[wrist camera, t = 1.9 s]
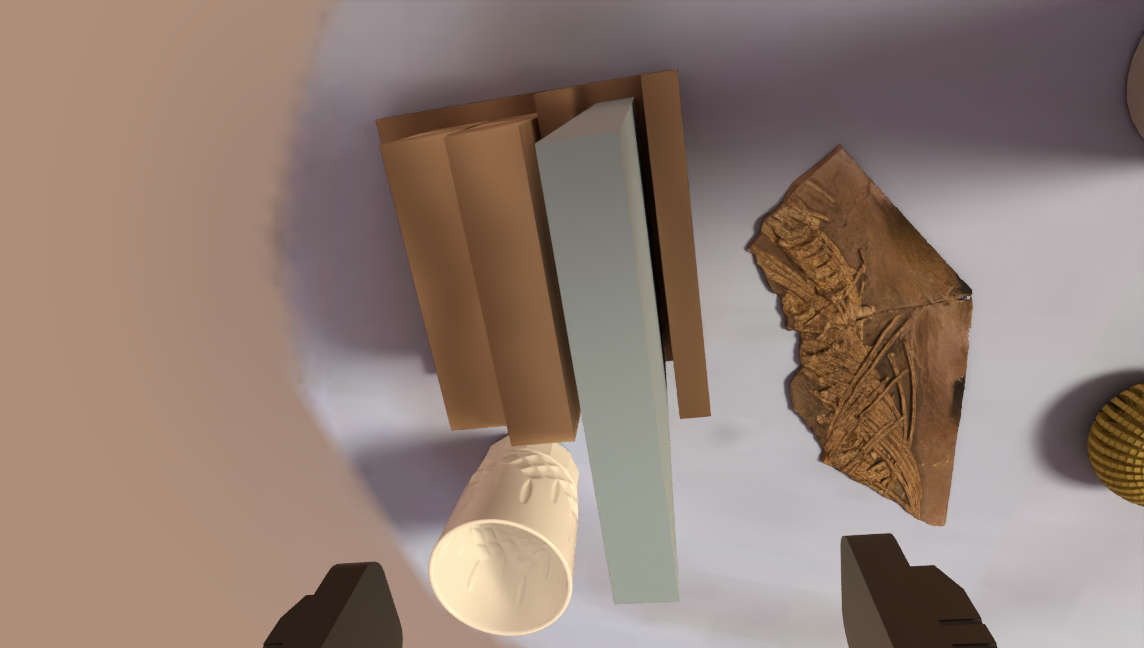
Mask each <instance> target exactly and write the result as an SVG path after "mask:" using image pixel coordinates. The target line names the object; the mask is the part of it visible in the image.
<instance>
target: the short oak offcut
mask: <svg viewBox="0 0 1144 648" xmlns="http://www.w3.org/2000/svg"><path fill="white" fill-rule="evenodd" d="M488 122H489V121H484V122H478V123H472V124H466V125H460V126H454V127H448V128H441V129H435V130H432V131H428V132H425V133H421V134H418V135H414V136H411V137H407V138H404V139H400V140H397V141H393V142H390V143H386V144H383V145H379V146H380V150H381V154H382V158H383V162H384V166H385V170H386V174H387V178H388V181H389V185H390V189H391V193H392V197H393V201H394V205H395V209H396V213H397V217H398V221H399V225H400V229H401V233H402V237H403V241H404V245H405V249H406V253H407V257H408V261H409V265H410V269H411V273H412V277H413V281H414V285H415V288H416V292H417V296H418V300H419V304H420V308H421V312H422V316H423V320H424V324H425V328H426V332H427V336H428V340H429V344H430V348H431V352H432V356H433V360H434V364H435V368H436V372H437V376H438V380H439V384H440V388H441V392H442V396H443V399H444V403H445V407H446V411H447V415H448V419H449V423H450V427H451V431H454V430H465V429H477V428H488V427H499V426H507V424H506V420H505V415H504V411H503V406H502V401H501V397H500V392H499V388H498V383H497V379H496V374H495V369H494V365H493V360H492V356H491V351H490V347H489V342H488V337H487V333H486V328H485V324H484V319H483V314H482V310H481V305H480V301H479V296H478V292H477V287H476V282H475V278H474V273H473V269H472V264H471V260H470V255H469V250H468V246H467V241H466V237H465V232H464V228H463V223H462V218H461V214H460V209H459V205H458V200H457V196H456V191H455V186H454V182H453V177H452V173H451V168H450V164H449V159H448V154H447V150H446V145H445V141H444V137H447V136H450V135H452V134H455V133H458V132H461V131H464V130H467V129H470V128H473V127H476V126H479V125H482V124H485V123H488Z"/></svg>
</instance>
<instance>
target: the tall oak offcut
mask: <svg viewBox="0 0 1144 648" xmlns="http://www.w3.org/2000/svg"><path fill="white" fill-rule="evenodd" d="M540 140H541V134H540V128H539V122H538V116H537V113H533V114H527V115H521V116H515V117H509V118H503V119H497V120H494V121H491V122H488V123H485V124H482V125H479V126H476V127H473V128H470V129H467V130H464V131H461V132H458V133H455V134H452V135H450V136H447V137H444V141H445V145H446V150H447V154H448V159H449V164H450V168H451V173H452V177H453V182H454V186H455V191H456V196H457V200H458V205H459V209H460V214H461V218H462V223H463V228H464V232H465V237H466V241H467V246H468V250H469V255H470V260H471V264H472V269H473V273H474V278H475V282H476V287H477V292H478V296H479V301H480V305H481V310H482V314H483V319H484V324H485V328H486V333H487V337H488V342H489V347H490V351H491V356H492V360H493V365H494V369H495V374H496V379H497V383H498V388H499V392H500V397H501V401H502V406H503V411H504V415H505V420H506V424H507V429H508V433H509V438H510V443H511V446H522V445H534V444H547V443H559V442H571V441H575V438H576V433H577V428H578V423H579V418H580V413H581V408H580V403H579V397H578V391H577V385H576V380H575V374H574V368H573V362H572V356H571V351H570V345H569V339H568V333H567V328H566V322H565V316H564V310H563V304H562V299H561V293H560V287H559V281H558V276H557V270H556V264H555V258H554V252H553V247H552V241H551V235H550V229H549V223H548V218H547V212H546V206H545V200H544V195H543V189H542V183H541V177H540V171H539V166H538V160H537V154H536V148H535V143H537V142H538V141H540Z"/></svg>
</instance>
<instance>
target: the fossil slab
mask: <svg viewBox="0 0 1144 648" xmlns="http://www.w3.org/2000/svg"><path fill="white" fill-rule="evenodd" d="M883 194H884V193H882V192H881V189H880V188H878V187H877V186H875V185H874V183H873V181H872V180H871V179H870V178H869V177H867V175H866V173H865V172H864V171H863V170H862V169H861V168H860V167H859V166H858V165H857V164H856V163H855V162H854V161H853V159H852V158H851V157H850V156H849V155H848V154H847V153H846V152H845V151H844V150H843V148H842V147H841V146H840V144H839V145H838V146H837V147H836V148H835V149H834V150H833V151H832V152H831V153H830V154H829V155H828V156H826V157H825V158H824V159H823V160H822V161H820V162H819V163H818V164H817V165H816V166H814V167H813V168H812V169H811V170H809V171H808V172H806V173H805V174H803V175H802V176H800V177H799V178H797V179H796V180H795V181H794V182H793V183H792V184H791V186H790V187H789V189H788V190H787V192H786V195H785V199H784V201H783V202H782V203H781V204H780V205H779V206H778V207H777V208H776V209H775V210H774V211H773V212H772V213H770V214H769V215H767V216H766V217H764V219H763V221H762V224H761V231H760V234H759V235H758V236H757V237H756V239H755V240H754V241H753V242H752V243H751V245H750V246H749V247H748V250H747V251H748V252H750V253H753V254H754V256H755V259H756V263H757V265H759V266H761V269H762V270H763V271H764V273H765V275H766V280H767V283H768V284H769V286H770V288H771V289H772V290H773V291H774V292H775V293H776V294H778V295H780V298H781V303H782V304H783V309H782V310H783V312H784V315H785V318H786V330H788V331H791V330H795V331H799V332H800V345H799V348H800V351H799V355H800V362H801V364H802V366H801V367H800V368H799V369H798V371H797V373H796V374H795V375H794V379H793V380H792V381H791V383H790V394H791V400H792V403H793V409H794V411H795V412H797V413H798V414H799V415H800V416H802V417H803V418H804V420H805V423H806V424H807V425H808V426H809V427H810V428H811V429H812V431H813V433H814V434H815V435H817V437H818V441H819V443H820V444H821V445H822V447H823V450H824V451H823V454H822V457H821V459H822V461H823V463H825V464H827V465H829V466H832V467H833V468H835V469H837V470H840V471H841V472H843V473H845V474H847V475H848V476H849V477H850V478H852V479H853V480H854V481H856V482H859V483H861V484H863V485H867V486H869V487H871V488H872V489H874V490H875V491H876V492H878V493H879V494H880V495H883V496H884V497H886V498H888V499H890V500H893V501H895V502H896V503H897V504H899V505H902V506H903V507H905V509H906V511H907V512H908V513H910V514H911V515H913V517H914V518H916V519H918V520H921V521H924V522H926V523H928V524H930V525H932V526H944V525H945V523H946V514H947V508H948V500H949V495H950V488H951V479H952V471H953V462H954V455H955V446H956V440H957V432H958V427H959V422H960V417H961V408H962V399H963V391H964V389H965V378H966V368H967V355H968V349H969V341H968V337H969V335H968V333H969V329H968V328H971V318H972V309H973V305H972V297H970V299H968V300H967V299H966V300H960V301H959V300H958V298H959V297H964V296H965V297H966V298H967V296H971V295H972V289H971V288H970V287H969V286H968V285H967V284H966V283H965V282H964V281H963V280H961V279H960V277H959V276H958V274H957V273H956V272H955V271H954V270H953V269H952V268H951V267H950V266H949V265H948V264H947V263H946V261H945V260H944V259H943V258H942V257H941V256H940V255H939V254H938V253H937V251H936V250H935V249H934V248H933V247H932V246H931V245H930V244H929V243H927V240H926V239H924V238H923V237H922V236H921V234H920V233H919V232H918V231H917V230H916V229H915V228H914V226H913V225H912V224H911V223H910V222H909V221H908V220H907V219H906V218H905V217H904V216H903V214H902V213H901V212H900V211H899V209H898V208H897V207H895V206H894V205H893V204H892V202H891V201H890V200H889V199H888V198H887V197H886V196H885V195H883Z"/></svg>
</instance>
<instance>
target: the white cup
mask: <svg viewBox="0 0 1144 648" xmlns="http://www.w3.org/2000/svg"><path fill="white" fill-rule="evenodd" d="M578 479H579V471H578V469H577V467H576V465H575V463H574V460H573V458H572V456H571V454H570V453H569V452H568V451H567V450H566V449H564V448H563V447H562V446H561V445H560V444H558V443H547V444H534V445H522V446H511V443H510V438H509V435H508V436H506V437H505V438H503V439H501V440H499V441H498V442H496V443H494V444H493V445H491V447H490V449H489V450H488V452H487V454H486V455H485V457H484V459H483V460H482V462H481V464H480V466H479V468H478V470H477V471H476V472H475V473H474V474H473V475H472V477H471V479H470V481H469V483H468V484H467V486H466V487H465V489H464V491H463V493H462V495H461V497H460V499H459V501H458V503H457V505H456V506H455V508H454V510H453V512H452V514H451V516H450V518H449V520H448V522H447V524H446V526H445V528H444V530H443V531H442V533H441V535H440V537H439V539H438V541H437V543H436V545H435V547H434V549H433V551H432V553H431V556H430V560H429V569H428V570H429V579H430V583H431V586H432V589H433V591H434V593H435V595H436V597H437V598H438V600H439V601H440V603H441V604H442V605H443V606H444V607H445V609H446V610H447V611H448V612H450V613H451V614H452V615H453V616H454V617H456V618H457V619H458V620H460V621H461V622H463V623H465V624H467V625H468V626H470V627H473V628H475V629H477V630H480V631H483V632H487V633H491V634H496V635H507V636H513V635H523V634H528V633H532V632H535V631H538V630H541V629H543V628H545V627H547V626H548V625H550V624H551V623H553V622H554V621H555V620H556V619H558V618H559V617H560V615H561V614H562V613H563V612H564V610H565V609H566V607H567V605H568V603H569V600H570V597H571V593H572V583H573V571H574V559H575V548H576V535H577V524H578V502H577V492H578Z"/></svg>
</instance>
